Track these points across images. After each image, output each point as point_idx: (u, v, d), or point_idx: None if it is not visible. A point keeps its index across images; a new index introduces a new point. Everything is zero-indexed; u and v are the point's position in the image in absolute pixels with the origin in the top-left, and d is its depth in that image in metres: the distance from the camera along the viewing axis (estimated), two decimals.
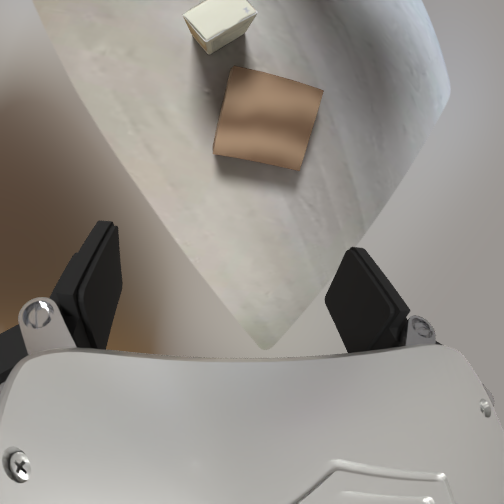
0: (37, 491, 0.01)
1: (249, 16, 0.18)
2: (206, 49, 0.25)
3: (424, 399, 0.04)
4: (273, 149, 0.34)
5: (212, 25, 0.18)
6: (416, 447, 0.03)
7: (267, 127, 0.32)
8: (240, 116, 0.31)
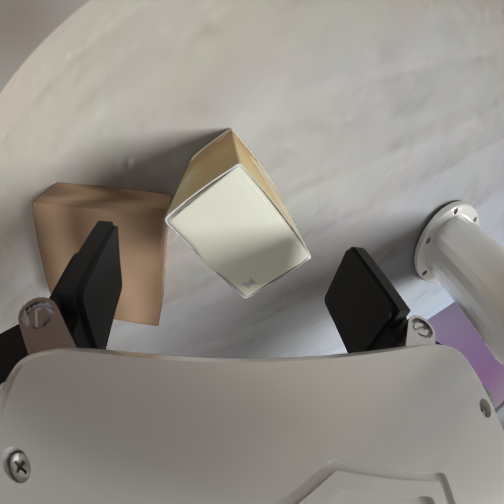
0: (37, 491, 0.01)
1: (235, 287, 0.14)
2: (184, 173, 0.17)
3: (424, 399, 0.04)
4: None
5: (206, 229, 0.12)
6: (416, 447, 0.03)
7: None
8: (86, 234, 0.19)
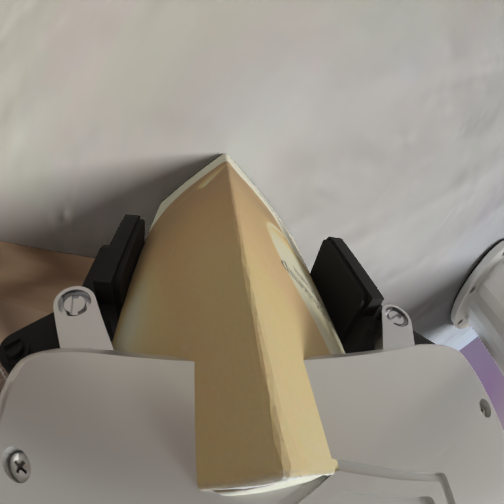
0: (37, 491, 0.01)
1: None
2: None
3: (424, 399, 0.04)
4: None
5: None
6: (416, 447, 0.03)
7: None
8: None
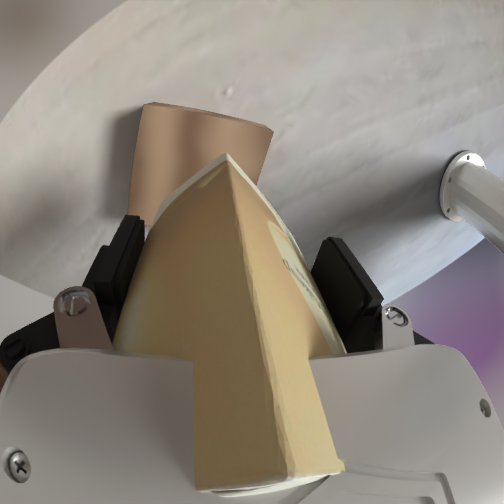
0: (37, 491, 0.01)
1: None
2: (136, 266, 0.08)
3: (424, 399, 0.04)
4: (151, 185, 0.24)
5: None
6: (416, 447, 0.03)
7: (182, 176, 0.24)
8: (197, 139, 0.22)
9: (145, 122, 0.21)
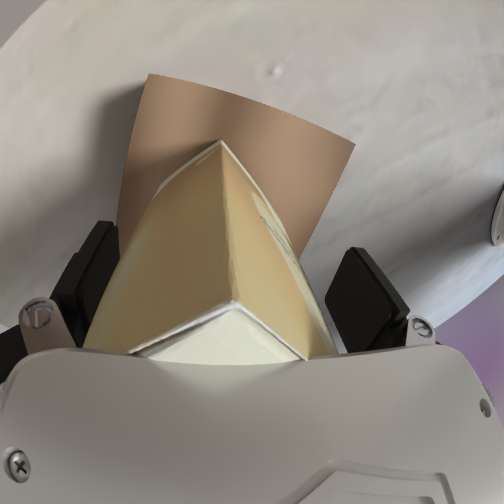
0: (37, 491, 0.01)
1: None
2: None
3: (424, 399, 0.04)
4: None
5: None
6: (416, 447, 0.03)
7: None
8: (236, 141, 0.13)
9: (149, 104, 0.11)
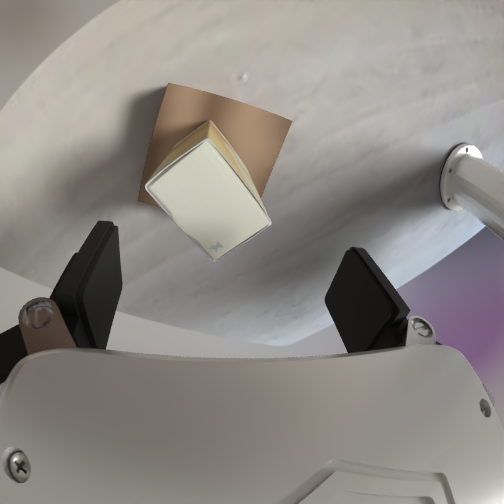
0: (37, 491, 0.01)
1: (204, 250, 0.16)
2: (166, 156, 0.19)
3: (424, 399, 0.04)
4: None
5: (179, 195, 0.13)
6: (416, 447, 0.03)
7: None
8: (218, 121, 0.22)
9: (168, 100, 0.20)
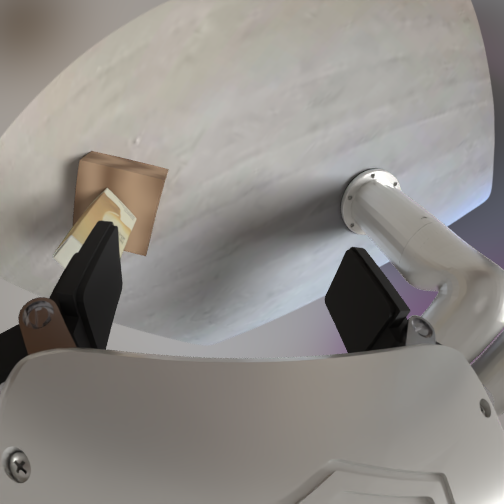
0: (37, 491, 0.01)
1: None
2: (75, 223, 0.27)
3: (424, 399, 0.04)
4: None
5: (67, 261, 0.22)
6: (416, 447, 0.03)
7: None
8: (113, 185, 0.31)
9: (81, 172, 0.29)
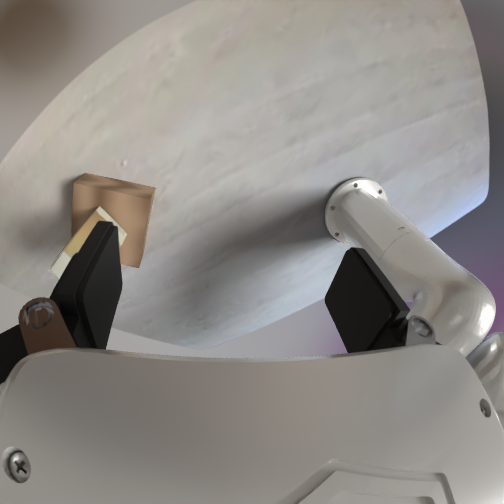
0: (37, 491, 0.01)
1: None
2: None
3: (424, 399, 0.04)
4: None
5: (61, 273, 0.25)
6: (416, 447, 0.03)
7: None
8: (105, 205, 0.34)
9: (75, 194, 0.32)
